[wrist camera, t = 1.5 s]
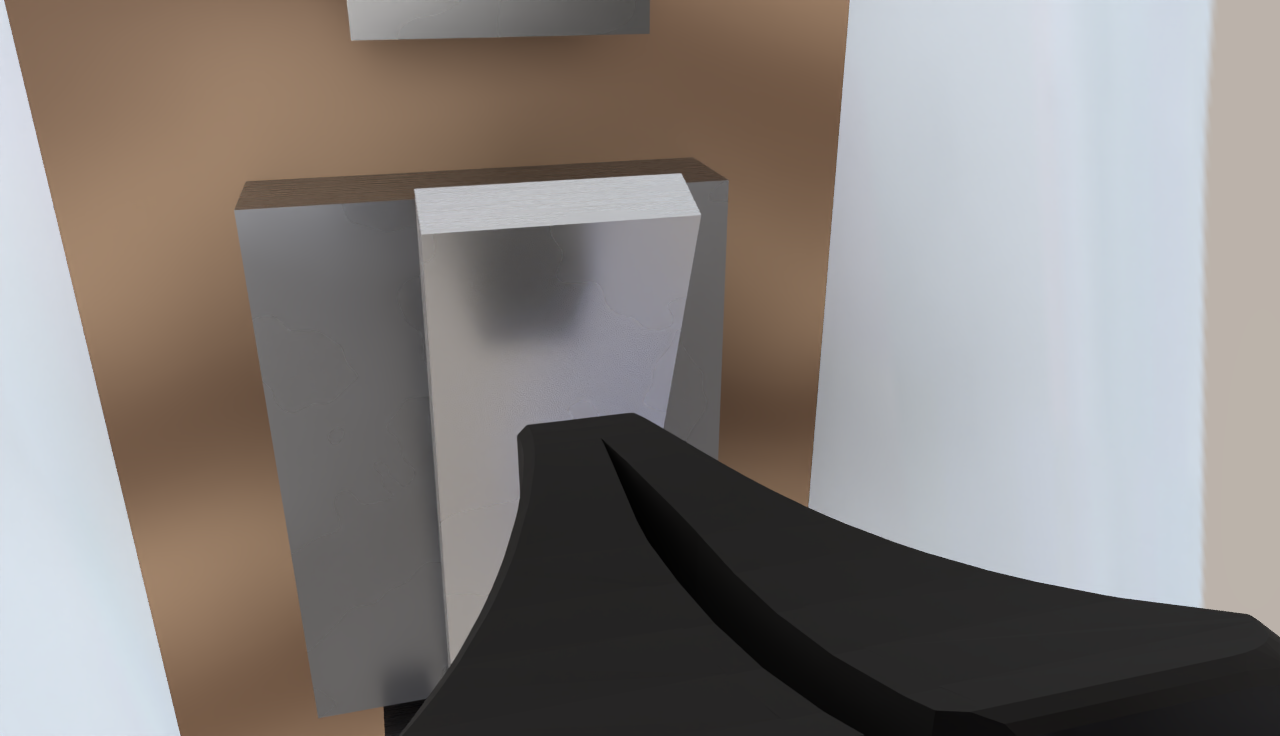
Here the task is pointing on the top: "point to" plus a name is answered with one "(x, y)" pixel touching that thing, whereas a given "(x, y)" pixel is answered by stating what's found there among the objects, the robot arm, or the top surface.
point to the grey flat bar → (539, 338)
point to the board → (366, 145)
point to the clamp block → (409, 368)
